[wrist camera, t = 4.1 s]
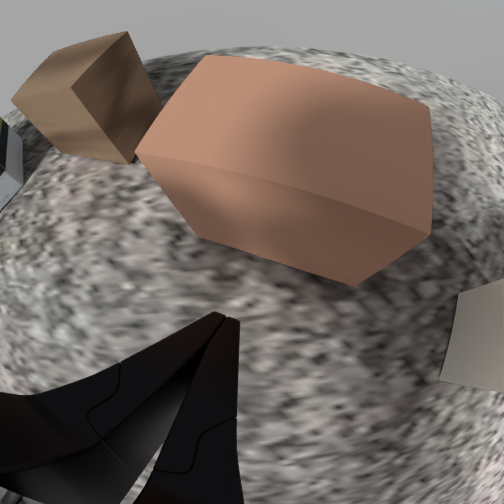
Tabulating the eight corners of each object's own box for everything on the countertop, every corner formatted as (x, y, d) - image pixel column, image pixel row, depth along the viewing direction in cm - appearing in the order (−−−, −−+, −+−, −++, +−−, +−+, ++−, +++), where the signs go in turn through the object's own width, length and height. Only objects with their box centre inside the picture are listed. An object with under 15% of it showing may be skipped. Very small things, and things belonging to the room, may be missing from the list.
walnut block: (129, 164, 19) (70, 87, 11) (61, 153, 21) (10, 100, 13) (164, 110, 21) (127, 31, 12) (92, 108, 23) (53, 51, 14)
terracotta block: (353, 286, 15) (430, 235, 7) (198, 236, 17) (134, 151, 9) (372, 200, 17) (429, 107, 8) (232, 160, 19) (205, 55, 10)
